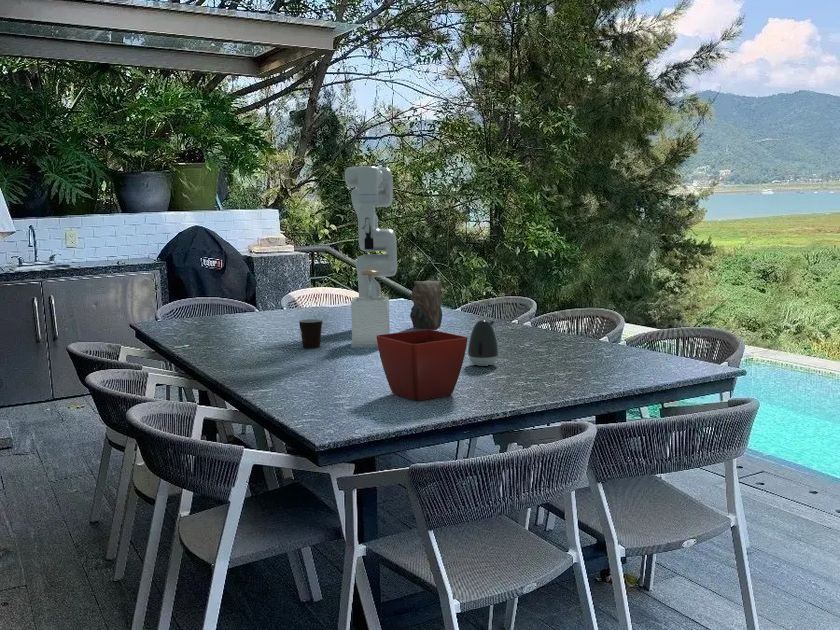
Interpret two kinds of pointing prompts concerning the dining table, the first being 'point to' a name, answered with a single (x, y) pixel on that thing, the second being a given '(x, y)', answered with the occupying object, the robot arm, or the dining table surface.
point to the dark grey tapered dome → (483, 344)
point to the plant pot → (422, 362)
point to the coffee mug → (311, 333)
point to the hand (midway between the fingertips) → (369, 248)
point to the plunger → (369, 280)
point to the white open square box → (369, 321)
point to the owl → (426, 304)
